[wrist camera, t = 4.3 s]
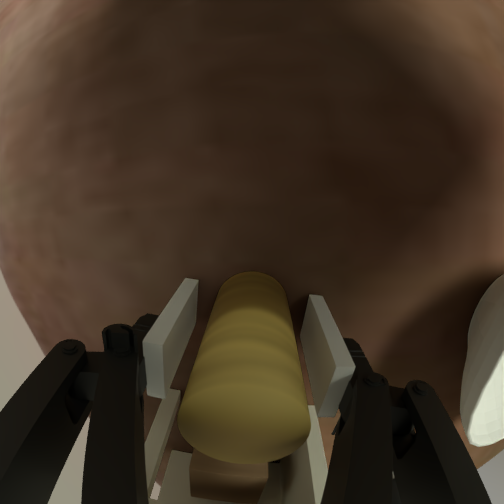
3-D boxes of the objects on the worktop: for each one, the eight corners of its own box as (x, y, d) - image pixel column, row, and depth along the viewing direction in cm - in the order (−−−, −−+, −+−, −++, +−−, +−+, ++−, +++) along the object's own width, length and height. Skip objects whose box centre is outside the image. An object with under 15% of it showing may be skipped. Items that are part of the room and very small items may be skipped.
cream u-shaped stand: (166, 387, 18) (120, 508, 8) (315, 405, 18) (338, 530, 8) (172, 453, 20) (147, 545, 10) (288, 467, 20) (294, 560, 11)
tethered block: (210, 265, 15) (156, 369, 7) (302, 277, 15) (344, 391, 7) (199, 450, 20) (182, 537, 11) (257, 457, 20) (255, 545, 11)
